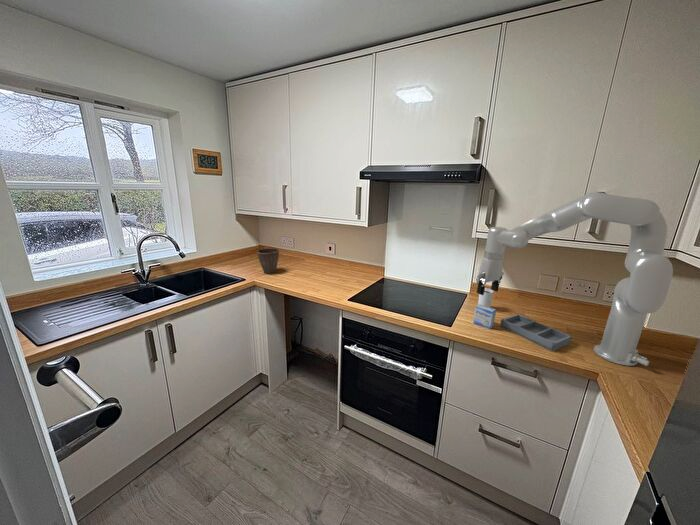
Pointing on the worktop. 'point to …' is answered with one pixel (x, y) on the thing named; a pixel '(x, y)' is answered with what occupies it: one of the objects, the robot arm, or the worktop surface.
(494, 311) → the medicine box
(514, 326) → the organizer tray
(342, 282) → the worktop surface
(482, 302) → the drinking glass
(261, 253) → the plant pot
